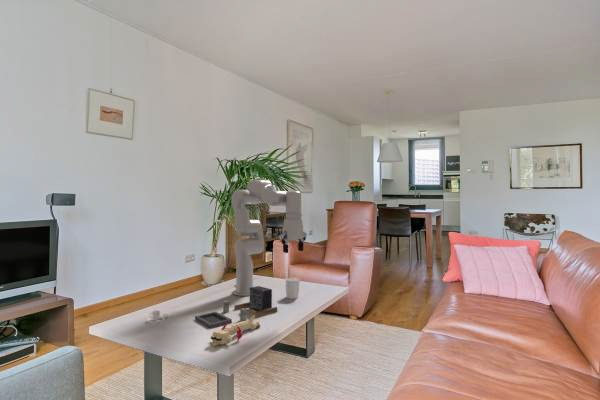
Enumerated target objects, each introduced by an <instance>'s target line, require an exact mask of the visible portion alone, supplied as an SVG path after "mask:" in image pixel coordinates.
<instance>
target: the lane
mask: <svg viewBox="0 0 600 400" xmlns="http://www.w3.org/2000/svg"><path fill="white" fill-rule="evenodd" d="M249 305H250V301H249V302H248V301H247V302H244V303H238V304H234V307H233V308H234V310H235V311H237V310H240V311H239V312H240V313H239V318H240V322H242V321H247V308H249ZM222 307H223V309H222V311H223V312H222V313H229V312H230V301H229V300H223V303H222ZM255 312H256V315H255V317H254V318H253V319H255V318H258V317H259V318H260V317H262V316H265V315H270V314H273V313H277V312H278V307H277V306H275V307H272V308H269V309H265V310H261V311H255Z"/></svg>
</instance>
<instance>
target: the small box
mask: <svg viewBox="0 0 600 400" xmlns="http://www.w3.org/2000/svg"><path fill="white" fill-rule="evenodd" d="M272 301H273V289H272V288H268V287H265V286H260V285H258V286H256V285H255V286H253V287H251V288H250V295H249V302H250V305H249V307H248V308H249V309H250V310H254V311H255V312H258V311H261V310H265V309H269V308H273V307H272V305H273V304H272V303H273V302H272Z"/></svg>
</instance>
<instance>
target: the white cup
mask: <svg viewBox="0 0 600 400" xmlns="http://www.w3.org/2000/svg"><path fill="white" fill-rule="evenodd" d="M300 280H301V279H300V278H297V277H288V278H285V294H286V298H287V299H291V300H292V299H293V300H294V299H298V298H299V292H300Z"/></svg>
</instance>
